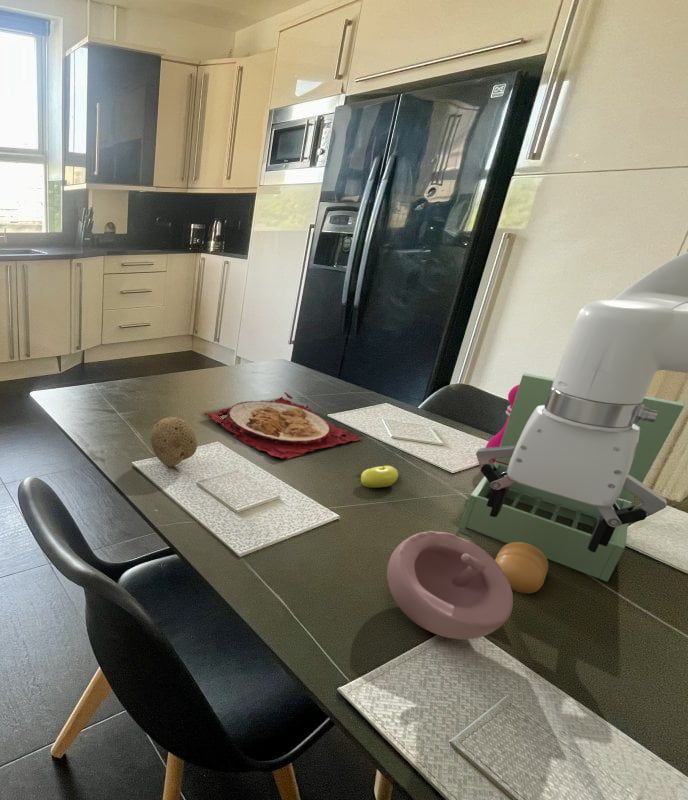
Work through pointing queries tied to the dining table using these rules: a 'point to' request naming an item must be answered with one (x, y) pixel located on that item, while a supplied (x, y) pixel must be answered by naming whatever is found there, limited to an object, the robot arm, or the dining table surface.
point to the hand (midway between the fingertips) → (541, 529)
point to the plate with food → (280, 427)
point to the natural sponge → (173, 441)
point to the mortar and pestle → (449, 585)
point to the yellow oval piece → (379, 476)
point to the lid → (651, 434)
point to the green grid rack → (555, 508)
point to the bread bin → (545, 528)
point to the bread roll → (523, 566)
